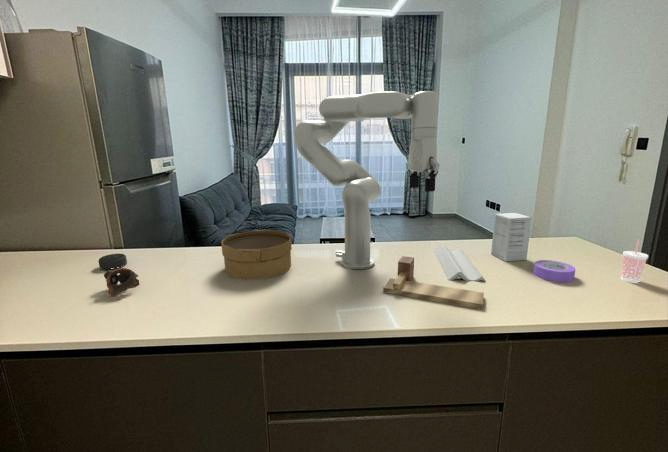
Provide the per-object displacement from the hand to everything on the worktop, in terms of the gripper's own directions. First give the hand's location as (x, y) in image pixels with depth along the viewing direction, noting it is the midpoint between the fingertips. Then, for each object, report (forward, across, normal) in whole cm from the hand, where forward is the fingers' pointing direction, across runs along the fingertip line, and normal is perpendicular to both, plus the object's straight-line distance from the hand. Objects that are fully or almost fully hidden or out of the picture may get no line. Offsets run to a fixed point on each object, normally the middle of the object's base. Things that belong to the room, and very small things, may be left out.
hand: (421, 189), depth 108 cm
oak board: (+30, +14, -3) cm, 33 cm away
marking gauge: (+30, +5, -9) cm, 31 cm away
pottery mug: (+29, -18, -95) cm, 101 cm away
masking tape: (+31, +13, +43) cm, 55 cm away
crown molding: (+31, -6, +19) cm, 37 cm away
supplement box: (+30, -7, +43) cm, 53 cm away
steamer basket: (+29, -26, -52) cm, 65 cm away
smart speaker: (+29, -43, -105) cm, 118 cm away
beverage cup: (+31, +24, +63) cm, 74 cm away
